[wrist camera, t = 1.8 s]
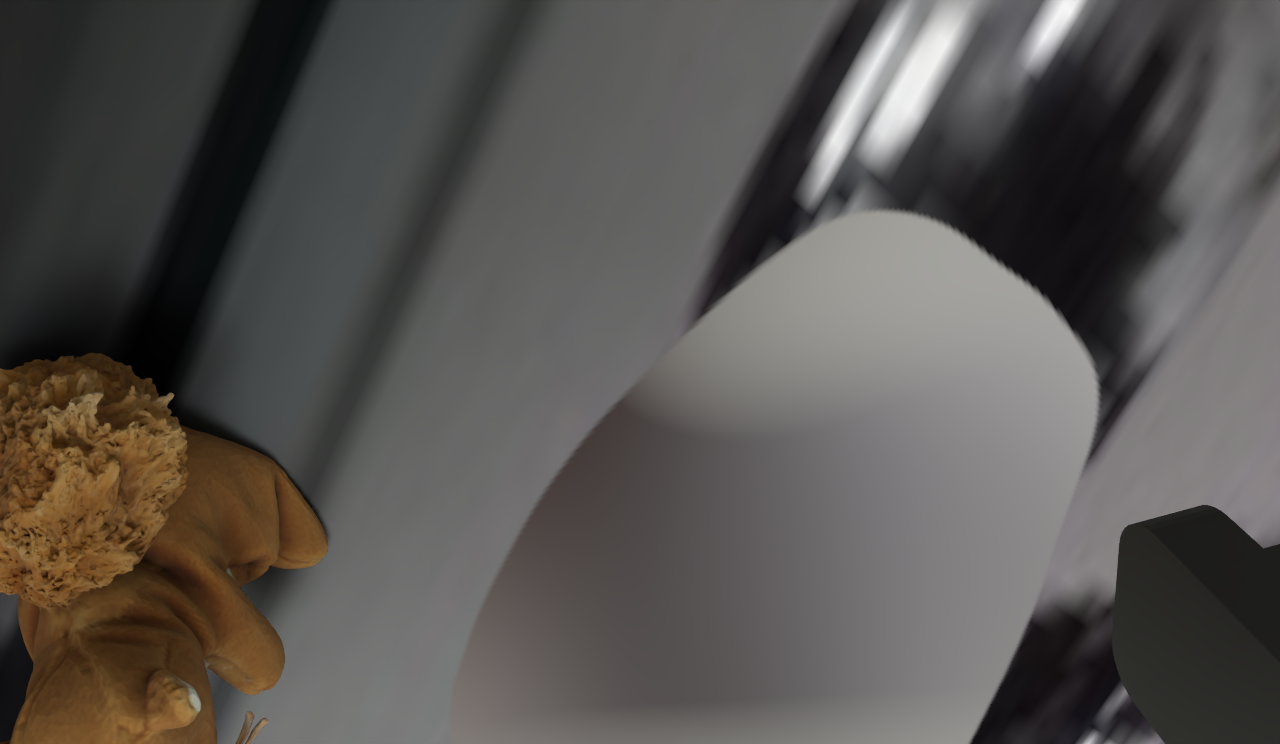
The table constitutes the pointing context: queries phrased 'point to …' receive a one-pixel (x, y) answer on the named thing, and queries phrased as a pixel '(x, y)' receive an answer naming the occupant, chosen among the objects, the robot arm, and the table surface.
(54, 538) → the stuffed squirrel
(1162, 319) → the table surface
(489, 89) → the table surface
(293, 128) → the table surface
